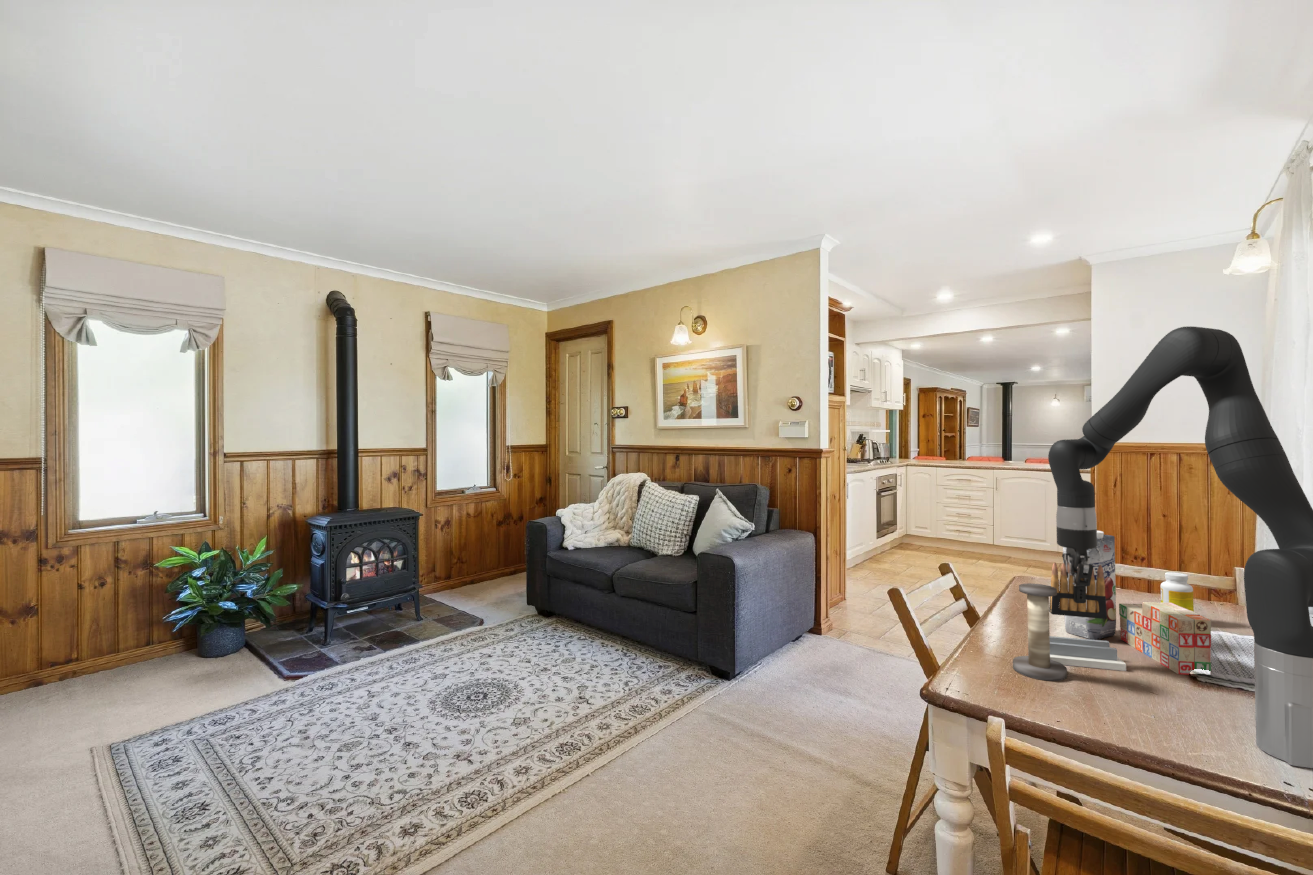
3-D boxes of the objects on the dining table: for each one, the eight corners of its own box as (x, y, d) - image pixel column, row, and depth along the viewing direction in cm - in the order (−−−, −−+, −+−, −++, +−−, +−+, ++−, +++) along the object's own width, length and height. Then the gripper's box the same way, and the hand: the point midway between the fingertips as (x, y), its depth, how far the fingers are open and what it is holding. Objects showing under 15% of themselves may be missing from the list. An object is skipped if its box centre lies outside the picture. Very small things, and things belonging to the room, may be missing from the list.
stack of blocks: (1119, 639, 146) (1118, 590, 145) (1147, 640, 144) (1146, 591, 144) (1178, 675, 125) (1177, 617, 124) (1212, 676, 123) (1211, 618, 123)
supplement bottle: (1201, 624, 154) (1200, 576, 154) (1176, 625, 154) (1175, 577, 154) (1178, 616, 161) (1177, 570, 161) (1154, 617, 161) (1153, 571, 161)
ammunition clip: (1051, 614, 135) (1051, 562, 134) (1049, 611, 136) (1048, 561, 136) (1107, 619, 131) (1107, 565, 131) (1104, 616, 133) (1103, 564, 132)
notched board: (1126, 671, 127) (1125, 652, 127) (1045, 663, 132) (1045, 645, 132) (1110, 655, 135) (1110, 638, 135) (1035, 648, 141) (1035, 632, 141)
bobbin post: (1073, 683, 121) (1071, 595, 121) (1018, 677, 125) (1016, 591, 125) (1059, 665, 131) (1057, 583, 131) (1008, 660, 134) (1006, 580, 134)
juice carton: (1059, 632, 152) (1057, 529, 151) (1084, 625, 156) (1082, 525, 156) (1096, 643, 143) (1094, 534, 143) (1121, 636, 148) (1119, 530, 147)
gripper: (1107, 531, 126) (1108, 611, 126) (1085, 521, 139) (1087, 594, 139) (1066, 530, 128) (1067, 608, 128) (1048, 520, 141) (1050, 592, 141)
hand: (1077, 600), depth 134 cm, fingers closed on ammunition clip, 2 cm apart
